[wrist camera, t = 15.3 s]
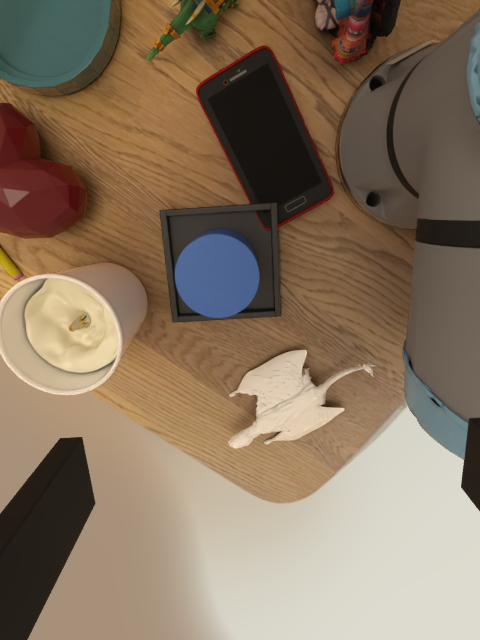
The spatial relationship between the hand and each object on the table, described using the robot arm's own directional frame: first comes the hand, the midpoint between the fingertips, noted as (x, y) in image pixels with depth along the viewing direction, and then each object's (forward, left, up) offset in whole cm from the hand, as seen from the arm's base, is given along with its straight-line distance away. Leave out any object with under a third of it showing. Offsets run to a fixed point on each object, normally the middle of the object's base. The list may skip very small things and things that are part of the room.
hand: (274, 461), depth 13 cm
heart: (+21, -12, -29) cm, 38 cm away
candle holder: (+15, 0, -29) cm, 33 cm away
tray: (+3, -3, -29) cm, 29 cm away
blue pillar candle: (+3, -3, -28) cm, 29 cm away
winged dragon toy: (-4, +12, -29) cm, 32 cm away
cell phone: (-2, -14, -29) cm, 32 cm away
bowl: (+17, -26, -29) cm, 42 cm away
